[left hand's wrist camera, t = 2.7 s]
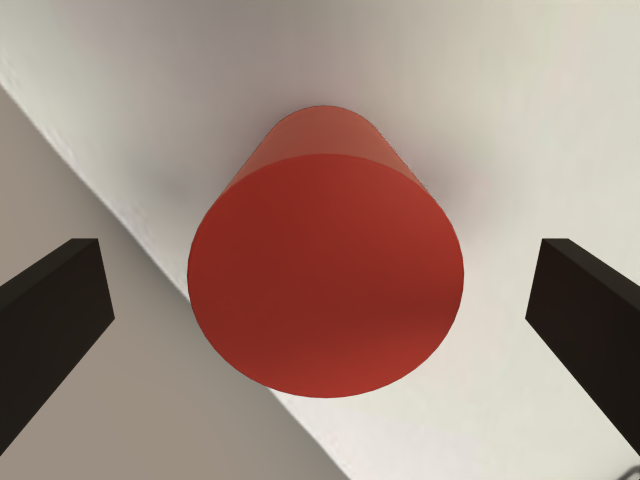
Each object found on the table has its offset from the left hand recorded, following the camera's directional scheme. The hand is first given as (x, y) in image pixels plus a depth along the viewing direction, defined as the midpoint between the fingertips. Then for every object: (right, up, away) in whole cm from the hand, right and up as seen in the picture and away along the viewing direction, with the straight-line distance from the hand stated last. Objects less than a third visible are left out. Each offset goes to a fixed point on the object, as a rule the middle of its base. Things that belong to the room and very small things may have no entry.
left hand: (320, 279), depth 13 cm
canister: (0, +4, +10) cm, 11 cm away
